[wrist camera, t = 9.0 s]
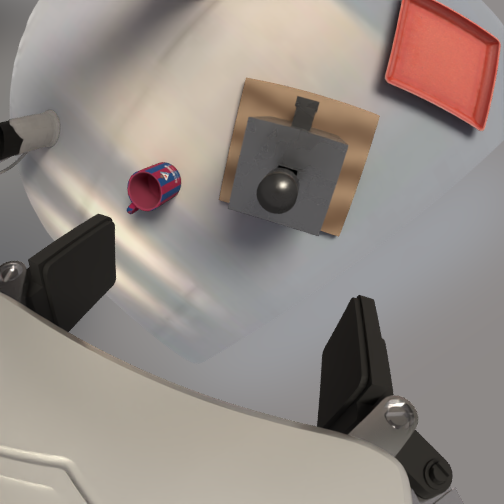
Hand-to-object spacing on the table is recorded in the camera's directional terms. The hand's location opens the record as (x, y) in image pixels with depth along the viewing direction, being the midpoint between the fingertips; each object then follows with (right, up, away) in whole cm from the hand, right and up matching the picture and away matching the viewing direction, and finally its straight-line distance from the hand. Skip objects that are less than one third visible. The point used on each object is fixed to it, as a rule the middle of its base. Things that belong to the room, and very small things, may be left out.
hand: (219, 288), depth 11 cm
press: (+8, +17, +30) cm, 35 cm away
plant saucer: (+31, +31, +20) cm, 48 cm away
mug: (-15, +13, +40) cm, 44 cm away
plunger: (+8, +15, +31) cm, 35 cm away
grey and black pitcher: (-46, +27, +40) cm, 66 cm away
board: (+8, +16, +32) cm, 37 cm away
